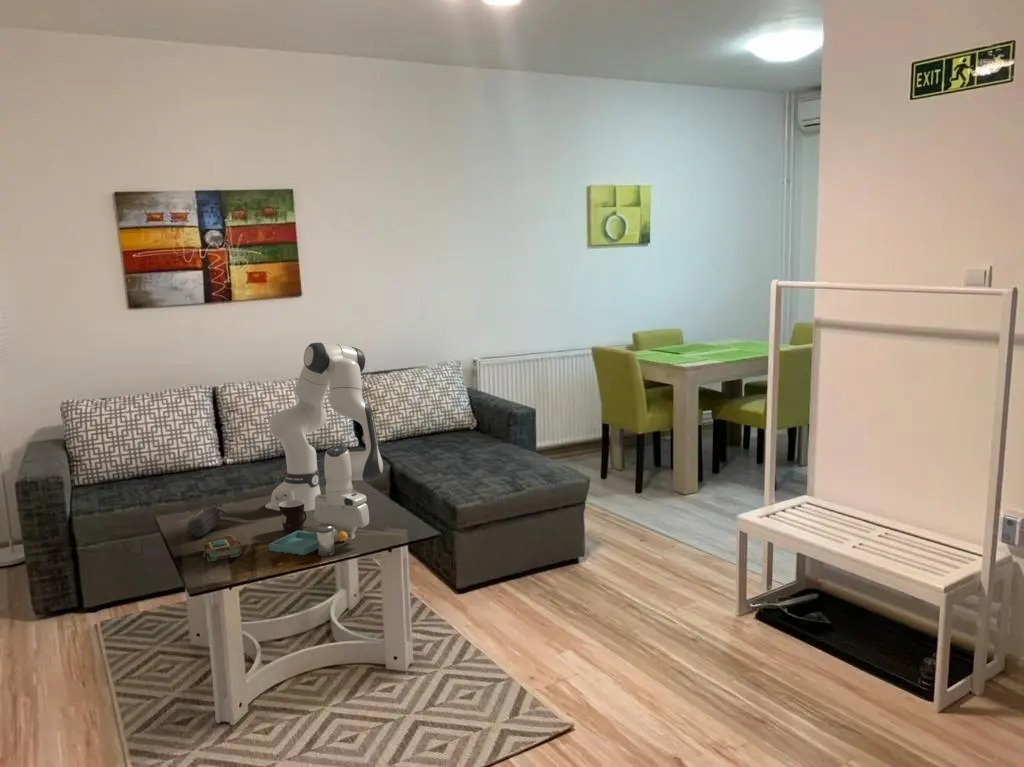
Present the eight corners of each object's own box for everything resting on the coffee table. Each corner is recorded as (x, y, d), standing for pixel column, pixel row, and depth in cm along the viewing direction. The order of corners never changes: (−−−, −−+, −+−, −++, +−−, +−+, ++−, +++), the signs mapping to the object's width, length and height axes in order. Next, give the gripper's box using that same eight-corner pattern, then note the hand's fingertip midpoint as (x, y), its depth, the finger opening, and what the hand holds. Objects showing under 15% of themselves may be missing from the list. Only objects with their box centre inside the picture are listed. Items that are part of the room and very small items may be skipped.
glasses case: (202, 524, 296) (200, 503, 295) (231, 523, 296) (229, 503, 294) (181, 541, 278) (179, 519, 277) (212, 540, 278) (210, 518, 277)
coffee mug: (279, 529, 287) (277, 501, 286) (304, 525, 291) (302, 498, 289) (284, 539, 277) (281, 510, 275) (309, 535, 280) (307, 507, 278)
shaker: (314, 555, 260) (312, 528, 259) (325, 549, 265) (323, 522, 264) (328, 557, 258) (326, 529, 257) (338, 551, 263) (336, 524, 262)
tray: (269, 551, 265) (269, 543, 265) (298, 537, 278) (297, 530, 278) (303, 556, 259) (303, 549, 259) (331, 542, 272) (331, 535, 272)
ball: (335, 542, 272) (334, 532, 271) (341, 539, 275) (340, 529, 274) (343, 544, 270) (343, 533, 270) (350, 540, 273) (349, 530, 273)
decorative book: (234, 541, 278) (233, 526, 277) (243, 556, 262) (242, 541, 261) (192, 548, 272) (191, 534, 271) (199, 565, 256) (198, 549, 255)
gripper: (308, 496, 272) (311, 536, 274) (359, 502, 263) (361, 543, 265) (320, 491, 277) (323, 530, 279) (370, 496, 269) (373, 537, 271)
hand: (342, 536), depth 272 cm, fingers open, 6 cm apart
